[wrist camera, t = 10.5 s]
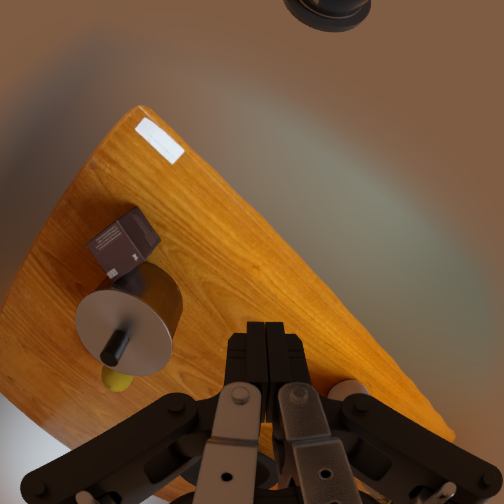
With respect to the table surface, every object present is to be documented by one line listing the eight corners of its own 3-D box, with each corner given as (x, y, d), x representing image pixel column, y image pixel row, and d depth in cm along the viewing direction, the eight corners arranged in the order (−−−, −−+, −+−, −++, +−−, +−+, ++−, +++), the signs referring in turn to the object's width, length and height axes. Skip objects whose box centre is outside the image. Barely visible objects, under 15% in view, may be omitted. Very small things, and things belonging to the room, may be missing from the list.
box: (138, 204, 39) (117, 218, 32) (162, 240, 41) (146, 260, 34) (108, 226, 40) (84, 244, 34) (131, 260, 42) (112, 283, 35)
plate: (160, 428, 57) (155, 448, 52) (266, 419, 55) (267, 441, 50) (203, 480, 67) (201, 496, 62) (287, 473, 65) (288, 490, 60)
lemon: (115, 342, 48) (98, 371, 40) (142, 357, 49) (129, 388, 42) (107, 360, 50) (92, 389, 42) (133, 374, 51) (121, 404, 43)
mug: (313, 394, 52) (321, 435, 43) (349, 367, 50) (364, 408, 41) (351, 415, 56) (361, 452, 46) (384, 391, 53) (399, 427, 44)
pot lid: (68, 283, 34) (46, 304, 29) (166, 288, 34) (153, 314, 29) (93, 364, 39) (78, 389, 34) (179, 375, 39) (172, 404, 34)
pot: (99, 259, 42) (69, 288, 33) (179, 261, 42) (161, 294, 34) (114, 329, 47) (93, 365, 38) (186, 335, 47) (175, 375, 38)
